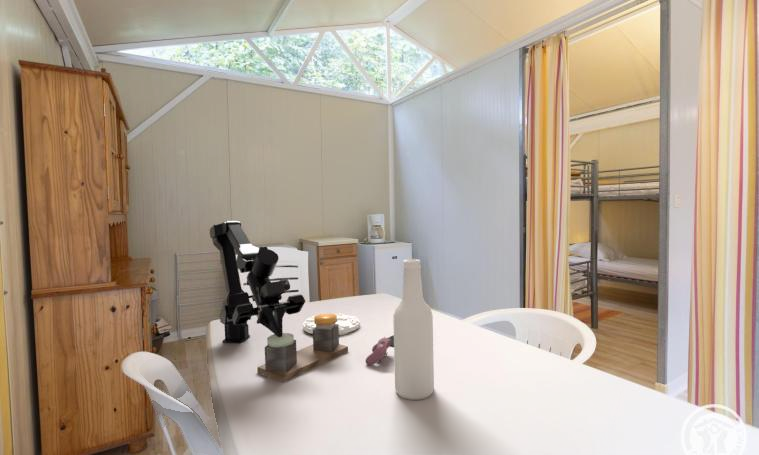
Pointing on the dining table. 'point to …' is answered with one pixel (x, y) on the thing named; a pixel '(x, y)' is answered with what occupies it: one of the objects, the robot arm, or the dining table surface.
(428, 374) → the alcohol
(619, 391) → the dining table surface
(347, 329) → the giant coin
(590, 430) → the dining table surface
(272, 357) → the button board
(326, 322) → the orange button
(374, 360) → the video game controller
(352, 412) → the dining table surface
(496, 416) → the dining table surface
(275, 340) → the pale green rounded piece
